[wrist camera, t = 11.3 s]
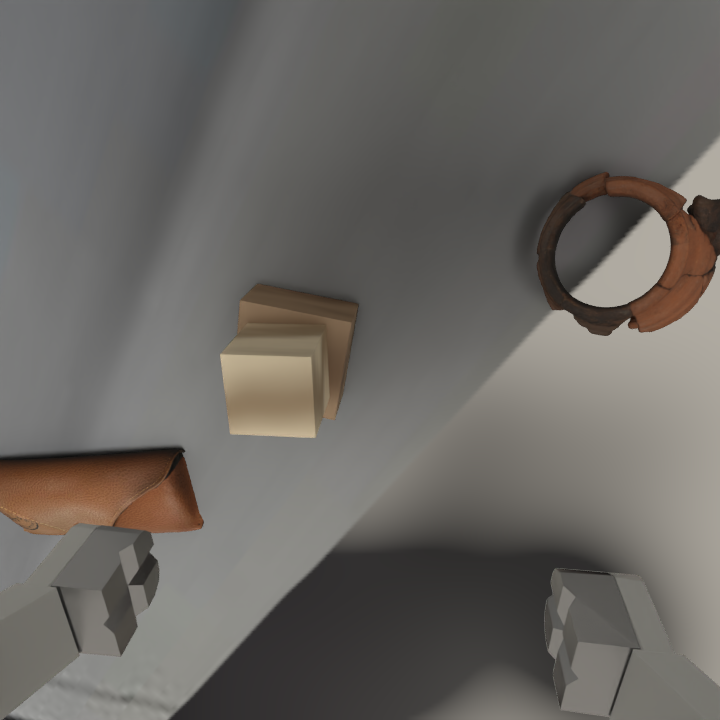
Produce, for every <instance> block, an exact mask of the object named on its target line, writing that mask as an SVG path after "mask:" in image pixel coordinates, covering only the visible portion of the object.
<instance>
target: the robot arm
mask: <svg viewBox="0 0 720 720" xmlns="http://www.w3.org/2000/svg"><path fill="white" fill-rule="evenodd" d="M153 545H154V543H153V539H152V535H151V532H148V531H146V530H138V529H130V528H121V527H113V526H105V525H93V524H84V523H78V524H76V525H75V526H73V527H71V528H70V530H69V531H68V532H67V533H66V534H65V535H64V537H63V538H62V539H61V540H60V541H59V543H58V544H57V545H56V546H55V547H54V549H53V550H52V551H51V552H50V553H49V555H48V556H47V557H46V558H45V559H44V560H43V562H42V563H41V564H40V565H39V566H38V568H37V569H36V570H35V571H34V572H33V574H32V575H31V576H30V577H29V578H28V580H27V581H26V582H25V583H24V584H20V583H16V584H15V585H13V586H11V587H9V588H7V589H6V590H4V591H2V592H0V720H2V719H3V718H5V717H6V716H7V715H8V714H10V713H11V712H12V711H13V710H14V709H16V708H17V707H18V706H19V705H20V704H22V703H23V702H24V701H25V700H27V699H28V698H29V697H30V696H31V695H33V694H34V693H35V692H36V691H37V690H39V689H40V688H41V687H42V686H43V685H45V684H46V683H47V682H48V681H50V680H51V679H52V678H53V677H54V676H56V675H57V674H58V673H59V672H60V671H62V670H63V669H64V668H65V667H67V666H68V665H69V664H70V663H71V662H73V661H74V660H75V659H76V658H77V657H79V653H83V654H94V655H106V656H117V657H121V656H122V654H123V652H124V651H125V649H126V647H127V645H128V643H129V642H130V640H131V638H132V636H133V634H134V633H135V631H136V629H137V627H138V625H137V620H136V616H137V615H138V614H140V613H141V612H143V611H144V610H146V609H147V608H148V607H149V606H150V604H151V602H152V600H153V598H154V596H155V593H156V590H157V586H158V582H159V565H158V560H157V559H156V558H155V557H154V556H153V555H152V554H151V553H150V550H151V548H152V547H153ZM551 586H552V591H553V595H552V596H550V597H549V598H548V599H547V602H546V608H545V622H544V627H545V637H546V643H547V648H548V652H549V653H550V654H551V655H552V656H553V657H554V658H555V660H556V662H555V666H554V671H553V677H554V683H555V688H556V692H557V697H558V702H559V706H560V710H565V711H572V712H578V713H586V714H592V715H599V716H606V717H610V720H720V687H719V686H718V685H717V684H716V683H715V682H714V681H713V680H712V679H710V678H709V677H708V676H707V675H706V674H705V673H704V672H703V671H701V670H700V669H699V668H698V667H697V666H696V665H695V664H694V663H693V662H691V661H690V660H689V659H688V658H687V657H686V656H685V655H681V654H675V652H674V650H673V648H672V646H671V643H670V641H669V639H668V636H667V634H666V632H665V629H664V627H663V625H662V622H661V620H660V618H659V616H658V613H657V611H656V609H655V606H654V604H653V602H652V600H651V597H650V595H649V593H648V590H647V588H646V586H645V583H644V581H643V579H642V578H641V577H640V576H639V575H632V574H620V573H608V572H597V571H585V570H573V569H560V568H555V570H554V572H553V574H552V578H551Z"/></svg>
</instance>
